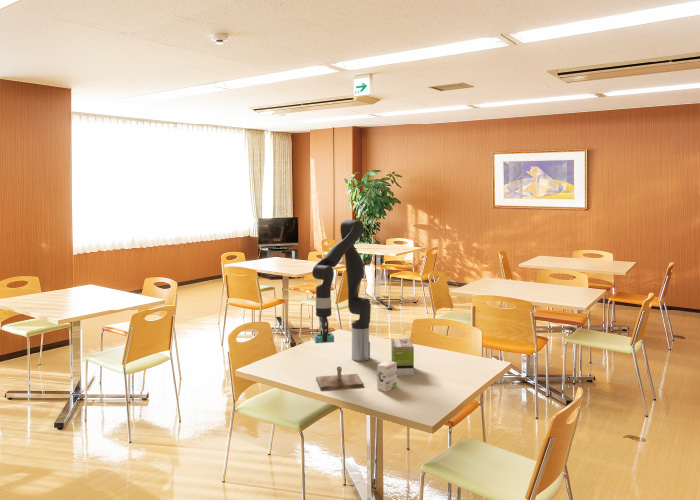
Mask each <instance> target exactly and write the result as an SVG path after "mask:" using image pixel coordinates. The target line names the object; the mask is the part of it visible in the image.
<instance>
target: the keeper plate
mask: <svg viewBox="0 0 700 500" xmlns="http://www.w3.org/2000/svg"><path fill="white" fill-rule="evenodd" d="M336 371H337V373H336V374H335V375H324V376H323V375H322V376H316V377H315V381H316V383H317V385H318V387H319V389H320V391H324V390H325V391H326V390H327V391H328V390H340V389H352V388H353V389H354V388H362V387H363V388H364V384H365V383H364V382H363V381H362V379H361V377H360V376H359V375H358V373H351V374H342V371H343V368H342V366H337V367H336Z"/></svg>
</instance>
